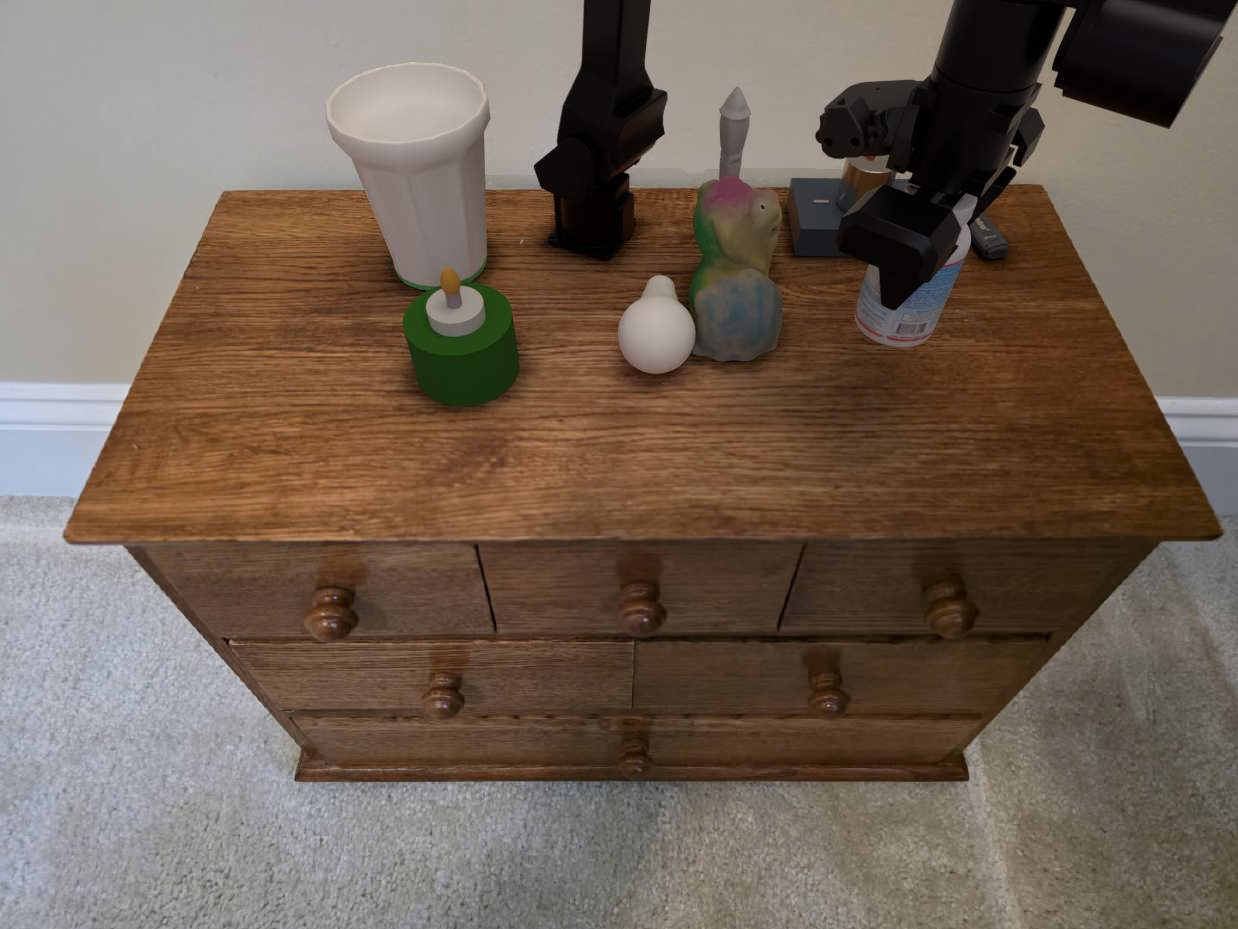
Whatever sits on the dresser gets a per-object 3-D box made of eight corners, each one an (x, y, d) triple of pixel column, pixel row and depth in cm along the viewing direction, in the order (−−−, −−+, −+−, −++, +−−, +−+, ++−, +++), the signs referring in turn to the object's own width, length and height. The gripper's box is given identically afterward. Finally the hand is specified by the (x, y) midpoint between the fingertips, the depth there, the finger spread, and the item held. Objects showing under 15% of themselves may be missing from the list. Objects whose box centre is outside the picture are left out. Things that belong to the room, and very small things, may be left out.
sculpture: (795, 365, 66) (818, 265, 58) (691, 369, 65) (700, 270, 58) (765, 252, 75) (782, 153, 67) (674, 256, 74) (680, 156, 67)
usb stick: (938, 202, 79) (943, 188, 78) (963, 199, 80) (969, 185, 79) (982, 262, 74) (988, 248, 73) (1008, 259, 74) (1015, 245, 73)
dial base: (795, 258, 74) (801, 229, 72) (785, 202, 80) (791, 173, 77) (927, 260, 74) (937, 231, 71) (908, 203, 79) (917, 174, 77)
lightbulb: (703, 306, 70) (702, 381, 62) (635, 320, 72) (626, 395, 64) (687, 243, 67) (684, 314, 59) (616, 259, 68) (604, 331, 60)
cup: (529, 282, 72) (511, 119, 60) (394, 323, 69) (346, 159, 57) (482, 208, 79) (457, 48, 67) (357, 242, 76) (307, 80, 64)
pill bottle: (937, 312, 63) (995, 180, 54) (924, 360, 59) (983, 227, 50) (860, 290, 64) (905, 158, 55) (842, 336, 60) (887, 202, 52)
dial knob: (897, 208, 74) (912, 160, 70) (857, 223, 72) (870, 174, 69) (864, 182, 76) (877, 135, 72) (825, 196, 75) (836, 148, 71)
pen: (718, 242, 76) (734, 97, 65) (702, 227, 77) (716, 82, 66) (740, 234, 76) (760, 89, 65) (724, 219, 78) (741, 75, 67)
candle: (476, 421, 62) (455, 323, 54) (395, 380, 65) (364, 281, 57) (539, 357, 66) (528, 257, 58) (461, 321, 69) (440, 221, 61)
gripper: (922, -23, 54) (865, 185, 66) (781, 90, 45) (745, 306, 57) (1092, 23, 50) (997, 235, 62) (974, 158, 41) (891, 375, 53)
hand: (908, 283), depth 59 cm, fingers closed on pill bottle, 6 cm apart
